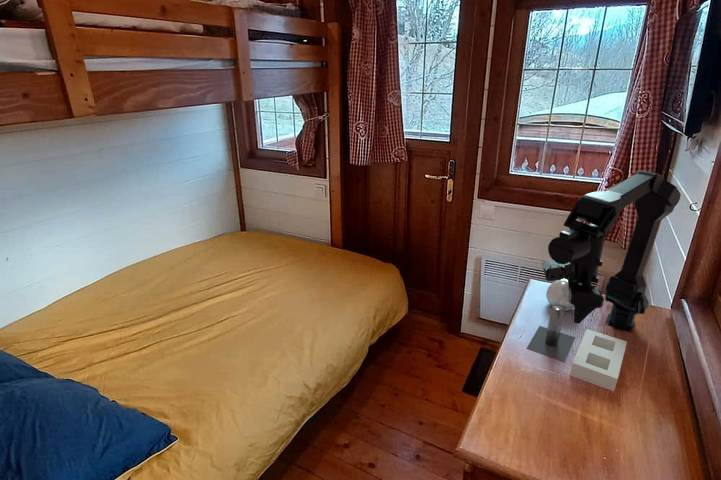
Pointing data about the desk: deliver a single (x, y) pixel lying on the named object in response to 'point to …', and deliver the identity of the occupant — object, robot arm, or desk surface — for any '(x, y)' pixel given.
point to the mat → (554, 352)
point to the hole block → (599, 359)
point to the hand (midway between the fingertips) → (573, 311)
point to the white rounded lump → (559, 294)
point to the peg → (554, 326)
